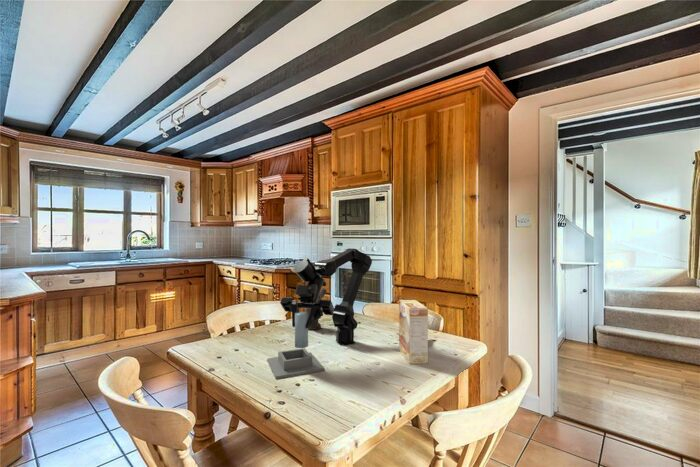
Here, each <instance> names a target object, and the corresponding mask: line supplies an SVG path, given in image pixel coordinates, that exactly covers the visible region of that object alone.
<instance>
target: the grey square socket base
mask: <svg viewBox="0 0 700 467" xmlns="http://www.w3.org/2000/svg"><path fill="white" fill-rule="evenodd" d="M266 362H267V363H268V365H269V368H270V370H271V372H272V375H273V377H274V378H275V380H277V379H278V380H279V379H284V378H289V377H296V376H302V375H307V374H312V373H313V374H314V373H319V372H325V367H324V366H323V365H322V363H320V361H319V360H318V358H316V357H315V355H314V354H313V353H312V352H309V351H308V350H307V349H306V347H305V348H295V349H289V350H281V351H278V352H277V357H276V356H275V357H269V358H267V360H266Z"/></svg>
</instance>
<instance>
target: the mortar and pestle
mask: <svg viewBox="0 0 700 467" xmlns="http://www.w3.org/2000/svg"><path fill="white" fill-rule="evenodd" d="M327 291H328V290H327V289H326V288H325V287H324V288H323V287H322V288H321V291H320V294H319V295H320V299H318V300H317V303H319V301H320V300H321V299H322V300H323V298H324V297H325V295H326V293H327ZM304 312H307V313H308V318H309V315H310V312H311V309H307V308H304ZM321 318H322V316H320V317H319V318H318V319H317V320H316V321H314V322H313V323H312V324H311V325H310V326H309V327H308V331H312V330H313V331H315V330H316V331H317V330H321V329H322V325H321V323H319V320H320V319H321Z"/></svg>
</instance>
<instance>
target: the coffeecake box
mask: <svg viewBox="0 0 700 467" xmlns="http://www.w3.org/2000/svg"><path fill="white" fill-rule="evenodd" d="M398 307H399V308H398V350H399V351H400V354H402V356H403V357H404V358H405V360H406V361H407V363H408V364H409V365H416V364H428V363H429V346H428V345H429V333H428V332H429V318H428V317H429V315H428V314H429V311H428V309H429V307H427V306H425V305H424V304H422V303H420V302H419V301H418V300H416V299H399V300H398Z"/></svg>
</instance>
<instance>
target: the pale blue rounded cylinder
mask: <svg viewBox="0 0 700 467" xmlns="http://www.w3.org/2000/svg"><path fill="white" fill-rule="evenodd" d="M307 320H308V313H307V312H305V311H300V312H297V313H295V327H294V348H295V349H302V348H305V349H306V348H307V347H309V330H308V328H307V329H306V323H307Z"/></svg>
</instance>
